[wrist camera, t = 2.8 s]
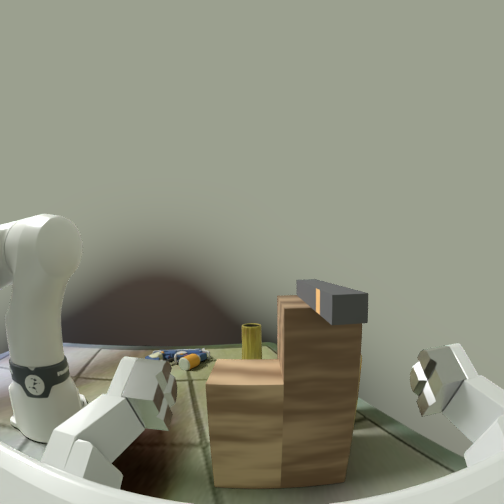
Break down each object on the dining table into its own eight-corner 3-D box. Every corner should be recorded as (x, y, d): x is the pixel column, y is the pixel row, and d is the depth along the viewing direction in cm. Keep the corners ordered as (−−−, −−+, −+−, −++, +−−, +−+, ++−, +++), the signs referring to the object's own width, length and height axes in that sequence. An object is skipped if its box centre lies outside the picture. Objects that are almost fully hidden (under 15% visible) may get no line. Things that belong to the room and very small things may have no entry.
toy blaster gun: (212, 370, 84) (209, 357, 99) (211, 357, 84) (209, 345, 99) (142, 373, 80) (149, 359, 95) (141, 359, 80) (148, 347, 95)
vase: (237, 375, 80) (236, 326, 81) (246, 368, 86) (245, 322, 86) (258, 378, 78) (257, 327, 78) (266, 371, 83) (265, 323, 84)
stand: (344, 481, 32) (362, 302, 33) (214, 487, 32) (202, 306, 33) (326, 435, 45) (334, 292, 47) (225, 438, 46) (219, 294, 47)
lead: (367, 322, 23) (368, 293, 23) (331, 325, 23) (332, 294, 23) (315, 294, 47) (315, 279, 47) (296, 295, 47) (296, 279, 47)
